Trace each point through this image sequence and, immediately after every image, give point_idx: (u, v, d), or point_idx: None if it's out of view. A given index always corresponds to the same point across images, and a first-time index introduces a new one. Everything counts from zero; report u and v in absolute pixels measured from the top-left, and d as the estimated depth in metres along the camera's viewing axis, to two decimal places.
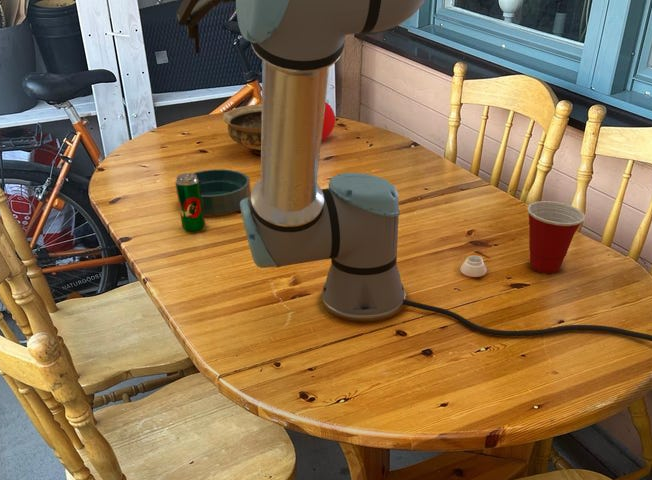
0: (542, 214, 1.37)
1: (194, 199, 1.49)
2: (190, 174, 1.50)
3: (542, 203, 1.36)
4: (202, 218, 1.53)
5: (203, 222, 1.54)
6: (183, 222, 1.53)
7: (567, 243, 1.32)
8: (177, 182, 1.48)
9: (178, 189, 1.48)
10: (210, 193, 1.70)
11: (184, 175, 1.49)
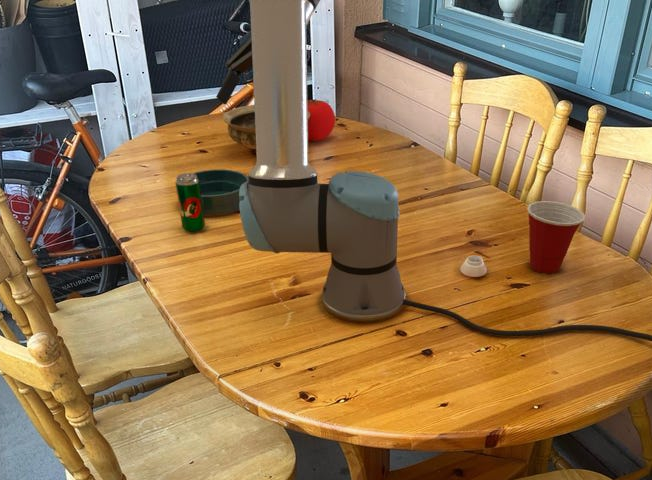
0: (542, 214, 1.37)
1: (194, 199, 1.49)
2: (190, 174, 1.50)
3: (542, 203, 1.36)
4: (202, 218, 1.53)
5: (203, 222, 1.54)
6: (183, 222, 1.53)
7: (567, 243, 1.32)
8: (177, 182, 1.48)
9: (178, 189, 1.48)
10: (210, 193, 1.70)
11: (184, 175, 1.49)
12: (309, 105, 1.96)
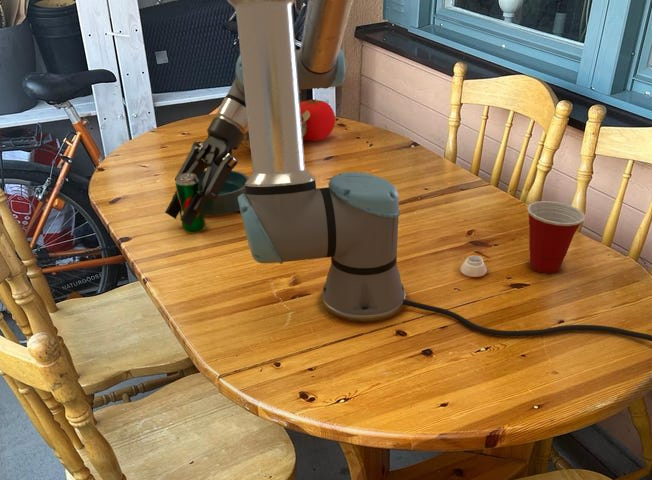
0: (542, 214, 1.37)
1: None
2: (190, 174, 1.50)
3: (542, 203, 1.36)
4: (202, 218, 1.53)
5: (203, 222, 1.54)
6: (183, 222, 1.53)
7: (567, 243, 1.32)
8: (177, 182, 1.48)
9: (178, 189, 1.48)
10: None
11: (184, 175, 1.49)
12: (309, 105, 1.96)
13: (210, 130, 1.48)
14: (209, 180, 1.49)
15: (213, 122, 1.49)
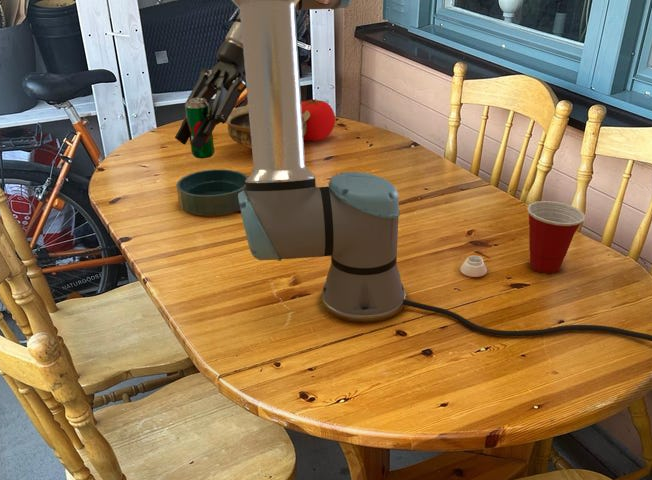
0: (542, 214, 1.37)
1: None
2: (200, 98, 1.51)
3: (542, 203, 1.36)
4: (211, 144, 1.54)
5: (212, 148, 1.55)
6: (193, 148, 1.54)
7: (567, 243, 1.32)
8: (187, 105, 1.49)
9: (188, 113, 1.49)
10: (210, 193, 1.70)
11: (194, 99, 1.50)
12: (309, 105, 1.96)
13: (220, 54, 1.49)
14: (219, 104, 1.50)
15: (222, 46, 1.49)
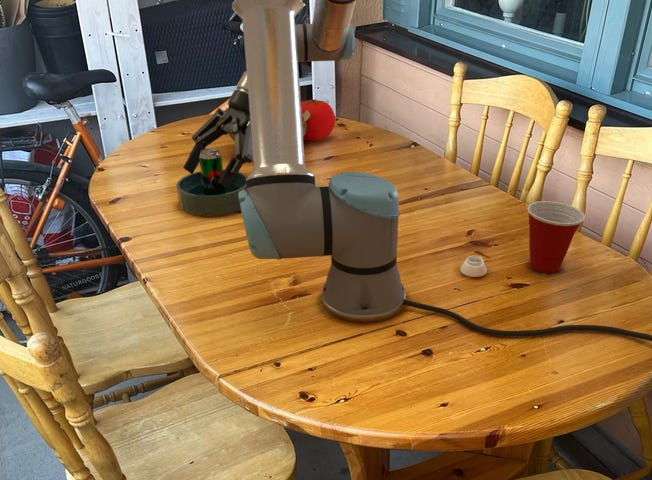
0: (542, 214, 1.37)
1: (217, 172, 1.61)
2: (213, 149, 1.61)
3: (542, 203, 1.36)
4: (223, 190, 1.64)
5: None
6: (206, 194, 1.64)
7: (567, 243, 1.32)
8: (201, 156, 1.59)
9: (202, 163, 1.59)
10: None
11: (207, 150, 1.60)
12: (309, 105, 1.96)
13: (231, 102, 1.59)
14: (241, 145, 1.58)
15: (234, 94, 1.59)
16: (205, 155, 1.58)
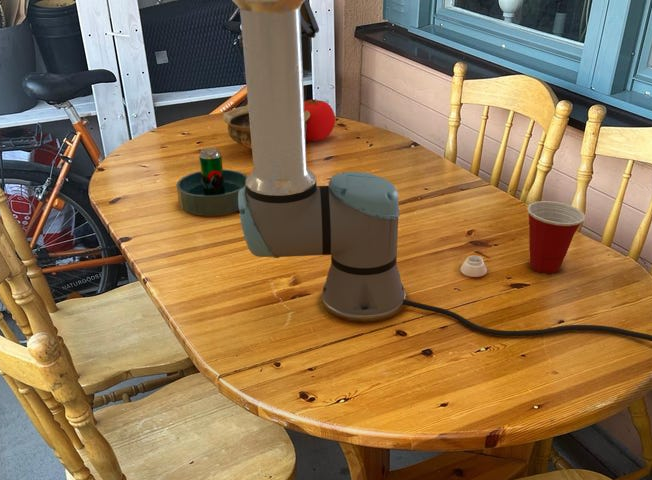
0: (542, 214, 1.37)
1: (217, 172, 1.61)
2: (213, 149, 1.61)
3: (542, 203, 1.36)
4: (223, 190, 1.64)
5: None
6: (206, 194, 1.64)
7: (567, 243, 1.32)
8: (201, 156, 1.59)
9: (202, 163, 1.59)
10: None
11: (207, 150, 1.60)
12: (309, 105, 1.96)
13: None
14: None
15: None
16: (205, 155, 1.58)
